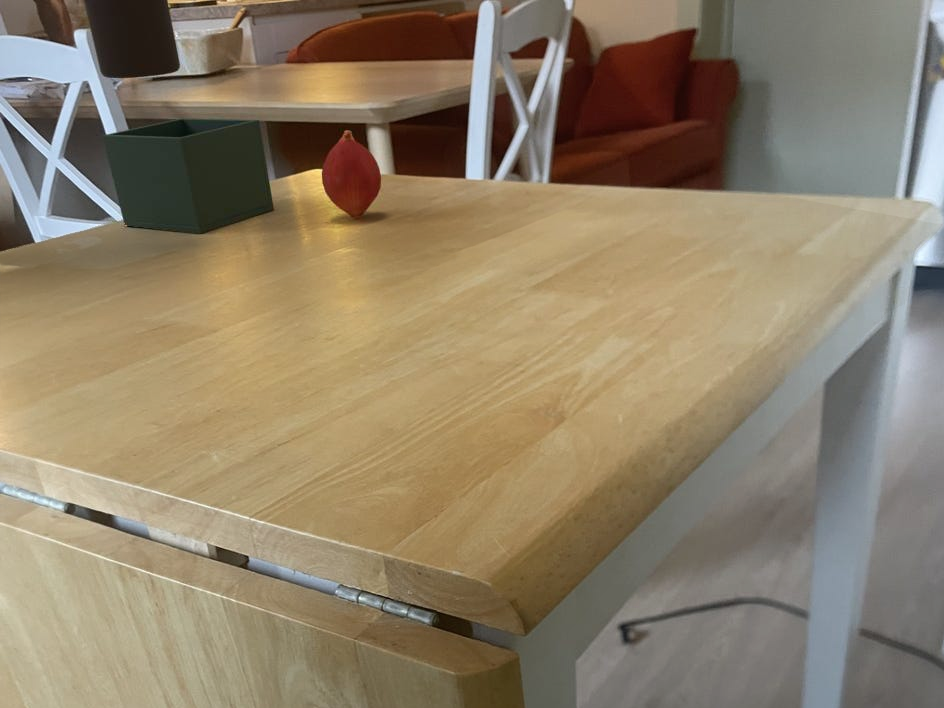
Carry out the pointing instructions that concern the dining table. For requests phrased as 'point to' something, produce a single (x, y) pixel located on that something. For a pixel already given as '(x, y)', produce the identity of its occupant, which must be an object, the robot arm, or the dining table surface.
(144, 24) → the vinegar
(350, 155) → the onion
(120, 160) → the open box
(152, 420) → the dining table surface
